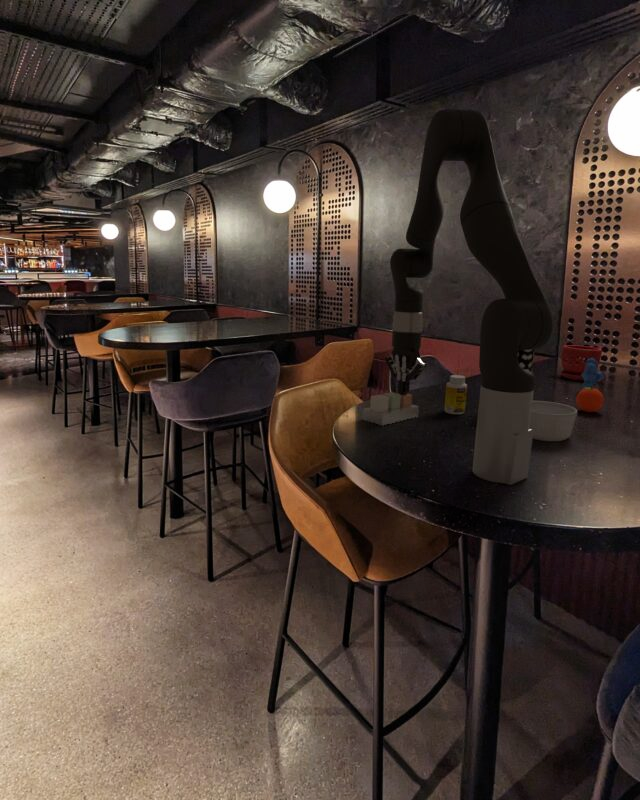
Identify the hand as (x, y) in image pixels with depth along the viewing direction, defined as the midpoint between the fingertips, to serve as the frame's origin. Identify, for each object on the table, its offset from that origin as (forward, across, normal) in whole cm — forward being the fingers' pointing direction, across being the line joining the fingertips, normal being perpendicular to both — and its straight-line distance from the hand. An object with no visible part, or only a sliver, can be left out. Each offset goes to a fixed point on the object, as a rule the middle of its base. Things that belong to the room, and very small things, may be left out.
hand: (403, 394), depth 134 cm
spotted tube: (+6, +16, +28) cm, 33 cm away
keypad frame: (+6, 0, -5) cm, 7 cm away
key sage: (+3, 0, -5) cm, 6 cm away
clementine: (+6, +29, +46) cm, 55 cm away
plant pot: (+6, +6, +93) cm, 94 cm away
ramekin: (+6, +32, +15) cm, 36 cm away
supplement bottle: (+6, +7, +14) cm, 17 cm away
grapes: (+6, +20, +70) cm, 73 cm away
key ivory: (+3, 0, -9) cm, 10 cm away
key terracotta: (+4, 0, 0) cm, 4 cm away
